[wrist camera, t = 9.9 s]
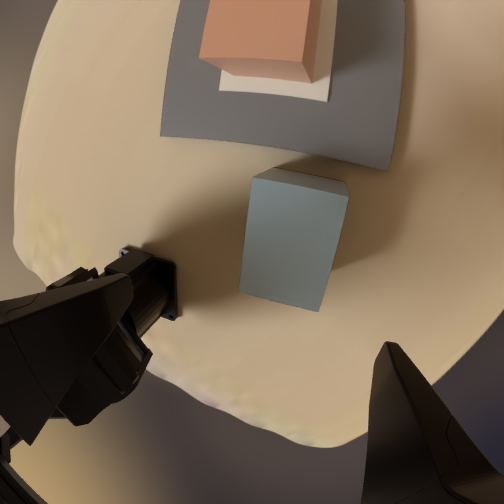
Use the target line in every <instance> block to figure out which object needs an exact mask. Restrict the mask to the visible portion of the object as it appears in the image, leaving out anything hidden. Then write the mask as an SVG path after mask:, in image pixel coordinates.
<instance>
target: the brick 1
mask: <svg viewBox="0 0 504 504" xmlns="http://www.w3.org/2000/svg"><path fill="white" fill-rule="evenodd" d="M321 6H322V0H210V3H209V8H208V13H207V17H206V22H205V27H204V32H203V38H202V43H201V49H200V54H199V58H200V59H202V60H204V61H206V62H208V63H210V64H212V65H214V66H216V67H218V68H220V69H222V70H224V71H226V72H228V73H229V74H231V75H233V76H244V77H259V78H271V79H280V80H289V81H296V82H303V83H310V84H312V77H313V70H314V63H315V55H316V48H317V40H318V32H319V23H320V15H321Z"/></svg>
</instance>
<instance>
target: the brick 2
mask: <svg viewBox="0 0 504 504" xmlns="http://www.w3.org/2000/svg"><path fill="white" fill-rule="evenodd" d="M348 199H349V195H348V191H347V187H346V183H345V182H341V181H337V180H333V179H328V178H324V177H319V176H314V175H310V174H305V173H300V172H294V171H289V170H284V169H278V168H271V169H269V170H267V171H265V172H262V173H260V174H258V175H256V176H254V177H252V183H251V191H250V199H249V207H248V215H247V224H246V232H245V240H244V249H243V257H242V265H241V274H240V283H239V291H238V292H241V293H245V294H249V295H252V296H256V297H260V298H264V299H267V300H271V301H275V302H279V303H283V304H287V305H291V306H295V307H299V308H303V309H307V310H311V311H315V312H319V308H320V305H321V302H322V299H323V295H324V292H325V289H326V285H327V282H328V278H329V275H330V271H331V268H332V264H333V260H334V257H335V253H336V249H337V245H338V242H339V238H340V234H341V230H342V225H343V221H344V217H345V213H346V208H347V204H348Z"/></svg>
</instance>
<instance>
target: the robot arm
mask: <svg viewBox="0 0 504 504" xmlns="http://www.w3.org/2000/svg"><path fill="white" fill-rule="evenodd" d="M119 256H120V258H118V259H117V260H115V261H114V262H112V263H110V264H109V265H107V266H106V267H105V268H104V271H105V272H103V273H102V274H100V275H98V271H97V270H96V268H95V267H94V268H93V269H91V270H90V271H88V269H84V268H82V267H80V268H78V269H77V270H75V271H74V272H72V273H70V274H69V275H67V276H65V277H63V278H61V279H60V280H58V281H56V282H54V283H52V284H51V285H49V286H48V287H47V288H46V291H45V292H41V293H37V294H33V295H29V296H24V297H20V298H15V299H10V300H4V301H0V504H48V503H47V502H45V501H44V500H43V499H42V498H41V497H40V496H39V495H38V494H37V493H36V492H35V491H34V490H33V489H32V488H31V487H30V486H29V485H28V484H27V483H26V482H25V481H24V480H23V479H22V478H21V477H20V476H19V475H18V474H17V473H16V471H14V469H13V468H12V467H11V466H10V465H9V463H10V462H11V456H10V449H12V448H13V447H14V446H15V445H17V444H18V443H19V442H20V441H21V440H24V441H25V442H26V443H27V444H28V445H29V446H31V445H32V443H33V442H34V440H35V439H36V437H37V436H38V434H39V432H40V431H41V429H42V428H43V426H44V425H45V423H46V422H47V420H48V419H68V420H69V421H70V422H71V423H72V424H73V425H74V426H80V425H84V424H88V423H90V422H91V421H92V420H93V419H94V418H95V417H96V416H97V415H98V414H99V413H100V412H101V411H102V410H103V409H105V408H106V407H107V406H109V405H110V404H113V403H117V402H119V401H121V400H122V399H124V398H125V397H127V396H128V395H129V394H130V393H131V392H132V391H133V390H134V389H135V388H136V386H137V385H138V383H139V381H140V379H141V377H142V375H143V373H144V371H145V369H146V367H147V365H148V363H149V361H150V359H151V357H152V355H153V353H152V352H151V350H150V349H148V348H147V347H146V345H145V344H144V343H143V341H142V340H141V339H140V338H141V337H142V336H143V335H144V334H145V333H146V332H147V331H148V330H149V329H150V327H151V326H152V325H153V324H154V323H155V322H156V321H157V320H158V319H159V318H160V317H163V318H166V319H169V320H171V321H175V319H176V318H177V316H178V315H177V288H176V265H175V264H174V263H173V262H171V261H168V260H164V259H161V258H157V257H154V256H153V255H150V254H147V253H143V252H140V251H137V250H133V249H132V250H131V249H127V248H122V249H120V251H119ZM169 266H170V267H171V269H170V267H169ZM361 504H504V475H503V474H502V473H500V472H499V471H498V470H496V469H495V468H494V466H493V465H492V464H491V463H490V461H489V460H488V459H487V458H486V457H485V456H484V454H483V453H482V452H481V451H480V450H479V448H478V447H477V446H476V445H475V443H474V442H473V441H472V440H471V438H470V437H469V436H468V435H467V433H466V432H465V431H464V429H463V428H462V427H461V425H460V424H459V423H458V422H457V420H456V419H455V417H454V416H453V415H452V413H451V412H450V410H449V409H448V408H447V406H446V405H445V404H444V402H443V401H442V399H441V398H440V397H439V396H438V394H437V393H436V392H435V390H434V389H433V388H432V386H431V385H430V384H429V382H428V381H427V380H426V378H425V377H424V376H423V375H422V373H421V372H420V371H419V369H418V368H417V367H416V366H415V364H414V363H413V362H412V361H411V359H410V358H409V357H408V356H407V354H406V353H405V352H404V351H403V349H402V348H401V347H400V346H399V345H398V344H397V343H395V342H389V341H386V342H385V343H384V344H383V346H382V348H381V350H380V352H379V354H378V356H377V358H376V360H375V362H374V368H373V378H372V387H371V395H370V403H369V422H368V442H367V454H366V466H365V475H364V483H363V491H362V498H361Z"/></svg>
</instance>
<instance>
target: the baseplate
mask: <svg viewBox="0 0 504 504" xmlns="http://www.w3.org/2000/svg"><path fill="white" fill-rule="evenodd" d="M209 3H210V0H181V1H180V5H179V9H178V14H177V18H176V23H175V28H174V33H173V38H172V44H171V50H170V56H169V62H168V69H167V76H166V83H165V91H164V99H163V109H162V119H161V131H160V136H164V137H183V138H197V139H209V140H220V141H229V142H238V143H246V144H254V145H261V146H268V147H274V148H281V149H287V150H292V151H298V152H303V153H309V154H314V155H319V156H324V157H328V158H333V159H337V160H342V161H346V162H350V163H355V164H359V165H363V166H367V167H370V168H374V169H378V170H382V171H385V172H388V171H389V166H390V161H391V156H392V150H393V145H394V139H395V133H396V126H397V120H398V112H399V105H400V96H401V87H402V75H403V62H404V40H405V7H404V0H322V6H321V15H320V23H319V32H318V40H317V48H316V55H315V63H314V70H313V77H312V84H310V83H303V82H296V81H289V80H280V79H271V78H259V77H244V76H233V75H231V74H229V73H228V72H226V71H224V70H222V69H220V68H218V67H216V66H214V65H212V64H210V63H208V62H206V61H204V60H202V59H200V58H199V54H200V49H201V43H202V38H203V32H204V27H205V22H206V17H207V13H208V8H209Z"/></svg>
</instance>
